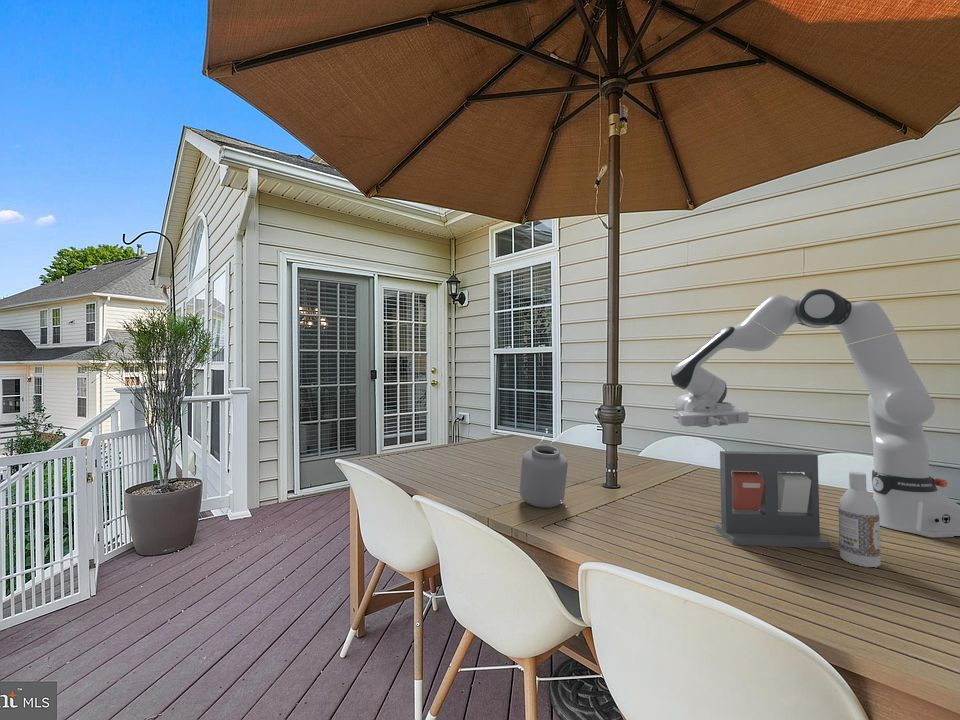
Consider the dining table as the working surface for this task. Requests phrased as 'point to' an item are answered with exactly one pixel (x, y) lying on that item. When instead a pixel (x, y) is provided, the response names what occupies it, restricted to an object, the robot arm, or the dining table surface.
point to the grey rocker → (793, 492)
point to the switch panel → (770, 502)
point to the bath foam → (859, 524)
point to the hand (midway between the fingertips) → (723, 422)
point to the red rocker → (746, 491)
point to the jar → (543, 476)
